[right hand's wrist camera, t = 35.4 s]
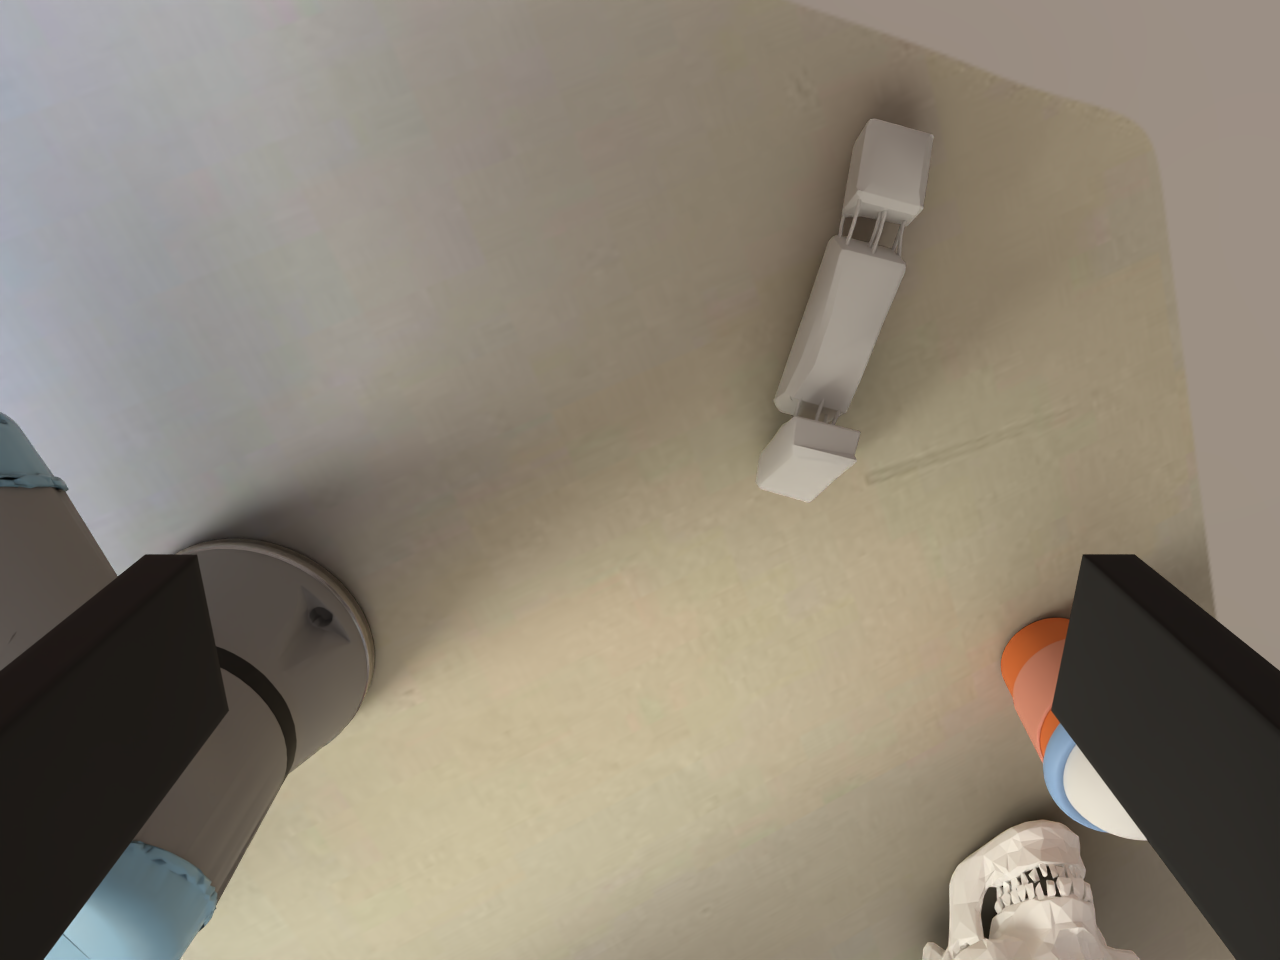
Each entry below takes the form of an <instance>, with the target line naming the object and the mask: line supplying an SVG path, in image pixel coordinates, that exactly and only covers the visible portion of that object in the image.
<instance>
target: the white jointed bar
mask: <svg viewBox="0 0 1280 960" xmlns="http://www.w3.org/2000/svg"><path fill="white" fill-rule="evenodd" d="M933 138H934V136H933V135H932V134H930V133H926V132H923V131H919V130H915V129H912V128H908V127H905V126H901V125H897V124H894V123H890V122H886V121H883V120H879V119H870V120H868V122H867V123H866V125H865V127H864V128H863V130H862V131H861V133H860V135H859V136H858V138H857V139H856V141H855V143H854V146H853V150H852V156H851V162H850V168H849V174H848V179H847V185H846V191H845V197H844V203H843V209H842V217H841V221H840V227H839V235H835V236H832V238H831V239H830V240H829V241H828V244H827V247H826V250H825V253H824V256H823V259H822V262H821V265H820V268H819V271H818V274H817V277H816V280H815V282H814V285H813V288H812V291H811V294H810V297H809V300H808V303H807V306H806V308H805V311H804V314H803V317H802V320H801V323H800V325H799V328H798V331H797V334H796V337H795V340H794V343H793V345H792V348H791V351H790V354H789V357H788V360H787V363H786V366H785V369H784V371H783V374H782V377H781V380H780V383H779V386H778V389H777V392H776V394H775V397H774V403H775V405H776V407H777V409H778V410H779V411H780V412H782V413H786V414H789V415H793V416H794V417H793V418H791V419H790V420H789V421H788V422H786V423H784V424H782V426H781V427H780V428H779V430H778V431H777V433H776V434H775V436H774V437H773V438H772V440H771V441H770V442H769V443H768V444H767V446H766V447H765V448H764V449H763V450H762V452H761V453H760V455H759V462H758V469H757V476H756V483H757V485H758V487H759V488H760V489H762V490H766V491H769V492H773V493H776V494H780V495H783V496H787V497H790V498H794V499H798V500H801V501H805V502H808V503H809V502H811V501H812V500H814V499H815V498H816V497H817V496H818V495H819V494H820V493H821V492H822V491H824V490H825V489H826V488H827V487H828V486H829V485H830V484H831V483H832V482H833V481H834V480H835V479H837V478H838V477H839V476H840V475H841V474H843V473H844V472H845V471H846V470H847V469H849V468H850V467H851V466H852V465H853V464H855V463H856V462H857V460H856V458H855V452H856V448H857V444H858V441H859V437H860V433H861V432H860V431H857V430H853V429H849V428H845V427H841V426H837V425H835V423H836V421H837V419H838V417H839V416H840V415H842V414H845V413H846V412H847V410H848V408H849V406H850V404H851V401H852V399H853V397H854V395H855V392H856V390H857V388H858V385H859V383H860V381H861V378H862V376H863V374H864V371H865V369H866V366H867V364H868V361H869V359H870V356H871V354H872V351H873V348H874V346H875V343H876V341H877V338H878V336H879V333H880V331H881V328H882V326H883V323H884V321H885V319H886V316H887V314H888V311H889V309H890V307H891V304H892V302H893V300H894V297H895V295H896V292H897V290H898V288H899V285H900V283H901V281H902V278H903V276H904V273H905V269H906V263H905V262H904V261H903V260H902V259H901V250H902V235H903V232H904V228H905V226H908V225H909V224H910V223H911V222H912V221H913V220H914V219H915V218H916V217H917V215H918V214H919V213H920V212H921V211H922V210H923V208H924V200H925V194H926V187H927V181H928V174H929V168H930V160H931V152H932V144H933ZM845 217H853V221H852V224H851V227H850V230H849V233H848V236H847V237H845V236H842V233H843V225H844V220H845ZM857 217H867V218H872V219H876V224H875V227H874V230H873V233H872V236H871V239H870V242H869V243H868V242H864V241H860V240H857V239H853V238H851V236H852V233H853V230H854V227H855V224H856V221H857ZM880 220H881V223H880ZM885 221H886V222H891V223H896V224H900V227H899V230H898V233H897V236H896V239H895V241H894V244H893V247H892V249H891V248H887V247H884V246H880V245H878V242H879V239H880V236H881V233H882V230H883V226H884V223H885ZM879 224H880V226H879ZM878 227H879V230H878ZM877 231H878V233H877ZM876 233H877V236H876ZM875 236H876V239H875ZM874 239H875V242H874ZM873 242H874V244H873ZM897 244H898V253H897V254H896V253H895V249H896V247H897ZM832 420H833V421H832ZM830 421H832V423H831V424H828V422H830Z"/></svg>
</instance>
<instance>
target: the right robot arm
mask: <svg viewBox="0 0 1280 960" xmlns="http://www.w3.org/2000/svg"><path fill="white" fill-rule="evenodd" d="M67 490H68V487H67V486H66V484H65V482H64V481H63V480H62V479H60V478H58V477H54V476H53V474H52V473H51V471H50V470H49V468H48V467H47V466H46V464H45V463H44V461H43V460H42V458H41V457H40V456H39V454H38V453H37V451H36V450H35V449H34V447H33V446H32V444H31V443H30V441H29V440H28V439H27V437H26V436H25V434H24V433H23V431H22V430H21V429H20V427H19V426H18V425H17V424H16V423H15V422H14V421H13V420H12V419H11V418H9V417H8V416H7V415H5V414H3V413H1V412H0V960H180V958H181V957H182V955H183V954H184V952H185V951H186V949H187V948H188V946H189V945H190V943H191V942H192V940H193V939H194V937H195V936H196V934H197V933H198V932H199V931H200V930H201V929H202V928H203V927H204V926H205V925H206V924H207V923H208V922H209V920H210V919H211V918H212V915H213V912H214V910H215V909H216V905H217V903H218V901H219V899H220V897H221V895H222V894H223V892H224V890H225V888H226V886H227V884H228V883H229V881H230V879H231V877H232V875H233V873H234V872H235V870H236V868H237V866H238V864H239V863H240V861H241V859H242V857H243V855H244V853H245V852H246V850H247V848H248V846H249V844H250V842H251V841H252V839H253V837H254V835H255V833H256V831H257V830H258V828H259V826H260V824H261V822H262V820H263V819H264V817H265V815H266V813H267V811H268V810H269V808H270V806H271V804H272V802H273V800H274V799H275V797H276V795H277V793H278V791H279V789H280V787H281V785H282V784H283V782H284V780H285V778H286V777H287V775H288V774H289V773H290V772H292V771H293V770H294V769H296V768H297V767H298V766H299V765H301V764H302V763H303V762H305V761H306V760H307V759H308V758H310V757H311V756H312V755H313V754H315V753H316V752H317V751H318V750H320V749H321V748H322V747H324V746H325V745H327V744H328V743H329V742H331V741H332V740H333V739H334V738H335V737H336V736H338V735H339V734H340V733H341V731H342V730H343V729H344V728H345V727H346V726H347V725H348V724H349V722H350V721H351V720H352V718H353V717H354V716H355V714H356V712H357V711H358V709H359V707H360V705H361V703H362V702H363V700H364V698H365V696H366V693H367V691H368V689H369V687H370V684H371V680H372V677H373V671H374V662H375V654H374V644H373V638H372V634H371V631H370V628H369V625H368V622H367V620H366V618H365V616H364V614H363V612H362V610H361V608H360V606H359V605H358V603H357V602H356V600H355V599H354V597H353V596H352V595H351V593H350V592H349V591H348V590H347V589H346V587H345V586H344V585H343V584H342V583H341V582H340V581H339V580H338V579H337V578H336V577H334V576H333V575H332V574H331V573H330V572H329V571H327V570H326V569H325V568H323V567H322V566H321V565H319V564H318V563H316V562H314V561H313V560H311V559H310V558H308V557H306V556H304V555H302V554H300V553H298V552H296V551H293V550H291V549H288V548H286V547H283V546H280V545H277V544H273V543H269V542H265V541H260V540H253V539H241V538H230V539H218V540H211V541H207V542H202V543H199V544H196V545H193V546H190V547H188V548H186V549H183V550H181V551H179V552H178V553H176V554H174V555H144V556H143V557H142V558H140V559H139V560H138V561H137V562H135V563H134V564H133V565H132V566H130V567H129V568H128V569H127V570H126V571H124V572H123V573H122V574H121V575H119V576H117V575H116V573H115V571H114V570H113V568H112V566H111V565H110V563H109V562H108V560H107V558H106V557H105V555H104V554H103V552H102V550H101V549H100V547H99V545H98V544H97V542H96V541H95V539H94V537H93V536H92V534H91V532H90V531H89V529H88V528H87V526H86V524H85V523H84V521H83V520H82V518H81V516H80V515H79V513H78V511H77V510H76V508H75V507H74V505H73V503H72V502H71V500H70V499H69V497H68V495H67V494H66V491H67ZM1051 711H1052V713H1053V714H1054V715H1055V717H1056V718H1057V719H1058V721H1059V722H1060V723H1061V725H1062V726H1063V727H1064V729H1065V730H1066V731H1067V733H1068V734H1069V736H1070V737H1071V738H1072V740H1073V741H1074V742H1075V744H1076V745H1077V746H1078V748H1079V749H1080V750H1081V752H1082V753H1083V754H1084V756H1085V757H1086V758H1087V760H1088V761H1089V762H1090V764H1091V765H1092V766H1093V768H1094V769H1095V770H1096V772H1097V773H1098V774H1099V776H1100V777H1101V779H1102V780H1103V781H1104V783H1105V784H1106V785H1107V787H1108V788H1109V789H1110V791H1111V792H1112V793H1113V795H1114V796H1115V797H1116V799H1117V800H1118V801H1119V803H1120V804H1121V805H1122V807H1123V808H1124V809H1125V811H1126V812H1127V813H1128V815H1129V816H1130V818H1131V819H1132V820H1133V822H1134V823H1135V824H1136V826H1137V827H1138V828H1139V830H1140V831H1141V832H1142V834H1143V835H1144V836H1145V838H1146V839H1147V840H1148V842H1149V843H1150V844H1151V846H1152V847H1153V848H1154V850H1155V851H1156V852H1157V854H1158V855H1159V857H1160V858H1161V859H1162V861H1163V862H1164V863H1165V865H1166V866H1167V867H1168V869H1169V870H1170V871H1171V873H1172V874H1173V875H1174V877H1175V878H1176V879H1177V881H1178V882H1179V883H1180V885H1181V886H1182V887H1183V889H1184V890H1185V891H1186V893H1187V894H1188V895H1189V897H1190V898H1191V900H1192V901H1193V902H1194V904H1195V905H1196V906H1197V908H1198V909H1199V910H1200V912H1201V913H1202V914H1203V916H1204V917H1205V918H1206V920H1207V921H1208V922H1209V924H1210V925H1211V926H1212V928H1213V929H1214V930H1215V932H1216V933H1217V934H1218V936H1219V937H1220V939H1221V940H1222V941H1223V943H1224V944H1225V945H1226V947H1227V948H1228V949H1229V951H1230V952H1231V953H1232V955H1233V956H1234V957H1235V959H1236V960H1280V671H1279V670H1278V669H1277V668H1275V667H1274V666H1273V665H1272V664H1270V663H1269V662H1268V661H1267V660H1266V659H1264V658H1263V657H1262V656H1261V655H1259V654H1258V653H1257V652H1256V651H1254V650H1253V649H1252V648H1250V647H1249V646H1248V645H1247V644H1246V643H1244V642H1243V641H1242V640H1241V639H1239V638H1238V637H1237V636H1236V635H1234V634H1233V633H1232V632H1231V631H1229V630H1228V629H1227V628H1226V627H1224V626H1223V625H1222V624H1221V623H1219V622H1218V621H1217V620H1216V619H1214V618H1213V617H1212V616H1211V615H1209V614H1208V613H1207V612H1206V611H1204V610H1203V609H1202V608H1201V607H1199V606H1198V605H1197V604H1196V603H1194V602H1193V601H1192V600H1191V599H1189V598H1188V597H1187V596H1186V595H1184V594H1183V593H1182V592H1181V591H1179V590H1178V589H1177V588H1176V587H1174V586H1173V585H1172V584H1171V583H1169V582H1168V581H1167V580H1166V579H1164V578H1163V577H1162V576H1161V575H1159V574H1158V573H1157V572H1156V571H1154V570H1153V569H1152V568H1151V567H1150V566H1148V565H1147V564H1146V563H1145V562H1143V561H1142V560H1141V559H1140V558H1138V557H1137V556H1136V555H1083V556H1082V561H1081V566H1080V571H1079V576H1078V581H1077V586H1076V591H1075V595H1074V600H1073V605H1072V610H1071V615H1070V620H1069V625H1068V630H1067V635H1066V639H1065V644H1064V649H1063V654H1062V659H1061V664H1060V669H1059V674H1058V679H1057V684H1056V688H1055V693H1054V698H1053V703H1052V708H1051Z"/></svg>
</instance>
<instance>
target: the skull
mask: <svg viewBox="0 0 1280 960" xmlns="http://www.w3.org/2000/svg"><path fill="white" fill-rule="evenodd" d="M1046 866H1049V868H1050V871H1051V874H1052V877H1053V879H1054V878H1055V877H1057V876H1058V874H1059V877H1058V878H1057V881H1056V884H1057V887H1058V890H1059V892H1060V895H1061V897H1055V894H1056V889H1055V883H1054V881H1052V880H1046V883H1047V895H1048V896H1045V895H1044V894H1043V891H1042V888H1041V885H1040V882H1039V883H1038V885H1037V886H1036V889H1035V893H1036V895H1037V896H1036V897H1035V893H1034V887H1033V883H1030V884H1028V883H1029V881H1028V879H1027V876H1026V875H1025V872H1028V871H1030V870H1032V869H1033V870H1032V871H1031V872H1030V874H1028V875H1029V876H1030V878H1031V879H1032V880H1033V882H1034V883H1036V882H1038V881H1039V880H1040V879H1039V876H1038V873H1037V870H1036V868H1038V867H1039V868H1040V870H1041V872H1042V875H1043V877H1046V876H1047V868H1046ZM1059 866H1062V867H1059ZM1055 867H1056V868H1055ZM1056 869H1057V870H1056ZM1065 873H1066V877H1065ZM1085 873H1086V869H1085V866H1084V864H1083V862H1082V859H1081V857H1080V842H1079V836H1077V835H1076V834H1075V833H1074V832H1072V831H1071V830H1070V829H1069V828H1068V827H1067V826H1065V825H1064V824H1062V823H1059V822H1054V821H1049V820H1035V821H1028V822H1024V823H1021V824H1019V825H1016V826H1013V827H1011V828H1009V829H1007V830H1005V831H1004V832H1002V833H1001V834H999V835H998V836H996V837H995V838H994V839H992V840H991V841H989V842H988V843H986V844H985V845H984V846H982V847H981V848H979V849H978V850H977V851H975V852H974V853H972V854H971V855H969V856H968V857H967V858H965V859H964V860H963V861H962V862H961V863H960V864H959V865H958V866H957V868H956V869H955V871H954V873H953V874H952V877H951V881H950V884H949V898H950V921H949V944H948V947H947V949H946V951H945V950H944V949H943V948H941V947H940V946H938V945H937V944H936V943H932V942H927V944H926V945H925V947H924V948H923V956H922V960H1140V959H1139V958H1138V957H1137V955H1136V954H1135V953H1134V952H1133V951H1132V950H1123V949H1115V948H1112V947H1109V946H1107V944H1106V941H1105V938H1104V937H1103V935H1102V933H1101V931H1100V930H1099V928H1098V926H1097V924H1096V918H1095V908H1094V904H1093V896H1092V891H1091V888H1090V884H1089V883H1087V882H1085V881H1084V880H1083V879H1084V878H1085ZM1019 878H1021V882H1022V885H1021V883H1020V882H1019V880H1018V879H1019ZM1009 882H1011V884H1010V883H1009ZM1002 885H1003V889H1002V887H1001V886H1002ZM1024 885H1025V886H1024ZM989 887H996V889H997V901H996V903H995V907H994V908H995V910H996V912H997V915H996V916H995V917H994V918H992V922H991V927H990V934H989V939H986V938H985V937H984V934H983V927H982V920H981V910H982V904H983V898H984V895H985V893H986V891H987V890H988V888H989ZM1003 890H1004V891H1003ZM1026 891H1027V894H1028V898H1027V899H1025V897H1026ZM1009 893H1010V894H1011V895H1010V894H1009ZM1013 903H1014V904H1013Z"/></svg>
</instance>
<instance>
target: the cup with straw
mask: <svg viewBox="0 0 1280 960" xmlns="http://www.w3.org/2000/svg"><path fill="white" fill-rule="evenodd" d="M1069 620H1070V619H1066V618H1048V619H1043V620H1039V621H1036V622H1034V623H1031V624H1029V625H1028V626H1026V627H1024V628H1023V629H1021V630H1020V631H1019V632H1018V633H1016V634H1015V635H1014V636H1013V637H1012V639H1011V640H1010V641H1009V643H1008V644H1007V646H1006V648H1005V650H1004V652H1003V655H1002V659H1001V671H1002V676H1003V678H1004V681H1005V683H1006V685H1007V687H1008V689H1009V691H1010V693H1011V695H1012V697H1013V701H1014V706H1015V709H1016V711H1017V713H1018V715H1019V717H1020V719H1021V721H1022V723H1023V725H1024V727H1025V729H1026V731H1027V733H1028V735H1029V737H1030V739H1031V741H1032V743H1033V745H1034V747H1035V749H1036V751H1037V753H1038V755H1039V757H1040V759H1041V760H1042V762H1043V773H1044V779H1045V782H1046V786H1047V788H1048V791H1049V793H1050V795H1051V796H1052V798H1053V800H1054V801H1055V803H1056V804H1057V805H1058V806H1059V807H1060V809H1061V810H1062V811H1064V812H1065V813H1066V814H1067V815H1068V816H1069V817H1071V818H1072V819H1073V820H1075V821H1076V822H1078V823H1080V824H1082V825H1084V826H1086V827H1088V828H1091V829H1094V830H1097V831H1101V832H1107V833H1111V834H1113V835H1116V836H1120V837H1123V838H1127V839H1134V840H1147V839H1146V838H1145V836H1144V835H1143V834H1142V832H1141V831H1140V830H1139V828H1138V827H1137V826H1136V824H1135V823H1134V822H1133V820H1132V819H1131V818H1130V816H1129V815H1128V813H1127V812H1126V811H1125V809H1124V808H1123V807H1122V805H1121V804H1120V803H1119V801H1118V800H1117V799H1116V797H1115V796H1114V795H1113V793H1112V792H1111V791H1110V789H1109V788H1108V787H1107V785H1106V784H1105V783H1104V781H1103V780H1102V779H1101V777H1100V776H1099V774H1098V773H1097V772H1096V770H1095V769H1094V768H1093V766H1092V765H1091V764H1090V762H1089V761H1088V760H1087V758H1086V757H1085V756H1084V754H1083V753H1082V752H1081V750H1080V749H1079V748H1078V746H1077V745H1076V744H1075V742H1074V741H1073V740H1072V738H1071V737H1070V736H1069V734H1068V733H1067V731H1066V730H1065V729H1064V727H1063V726H1062V725H1061V723H1060V722H1059V721H1058V719H1057V718H1056V717H1055V715H1054V714H1053V713H1052V711H1051V708H1052V703H1053V698H1054V693H1055V688H1056V684H1057V679H1058V674H1059V669H1060V664H1061V659H1062V654H1063V649H1064V644H1065V639H1066V635H1067V630H1068V625H1069Z"/></svg>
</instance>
